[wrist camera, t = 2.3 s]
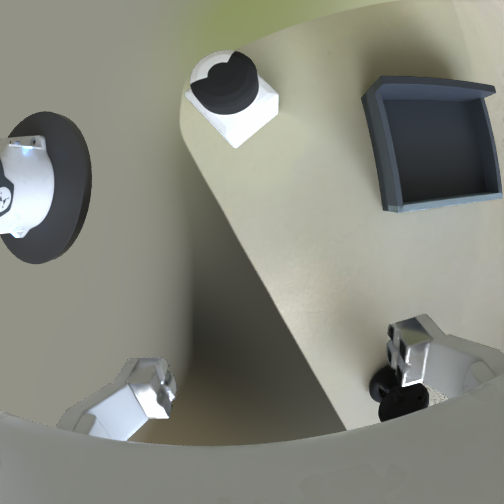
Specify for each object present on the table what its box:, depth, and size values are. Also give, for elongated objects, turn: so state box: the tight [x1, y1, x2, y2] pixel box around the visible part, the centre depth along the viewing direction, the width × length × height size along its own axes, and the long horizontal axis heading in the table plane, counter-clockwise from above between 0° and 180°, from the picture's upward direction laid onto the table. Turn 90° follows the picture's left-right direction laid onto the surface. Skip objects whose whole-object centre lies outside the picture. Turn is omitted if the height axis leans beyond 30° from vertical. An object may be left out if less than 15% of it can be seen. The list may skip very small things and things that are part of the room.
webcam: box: [369, 365, 429, 422], centre depth 34 cm, size 8×8×10 cm
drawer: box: [361, 76, 503, 213], centre depth 28 cm, size 15×18×8 cm
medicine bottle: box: [185, 50, 279, 148], centre depth 28 cm, size 7×7×12 cm
